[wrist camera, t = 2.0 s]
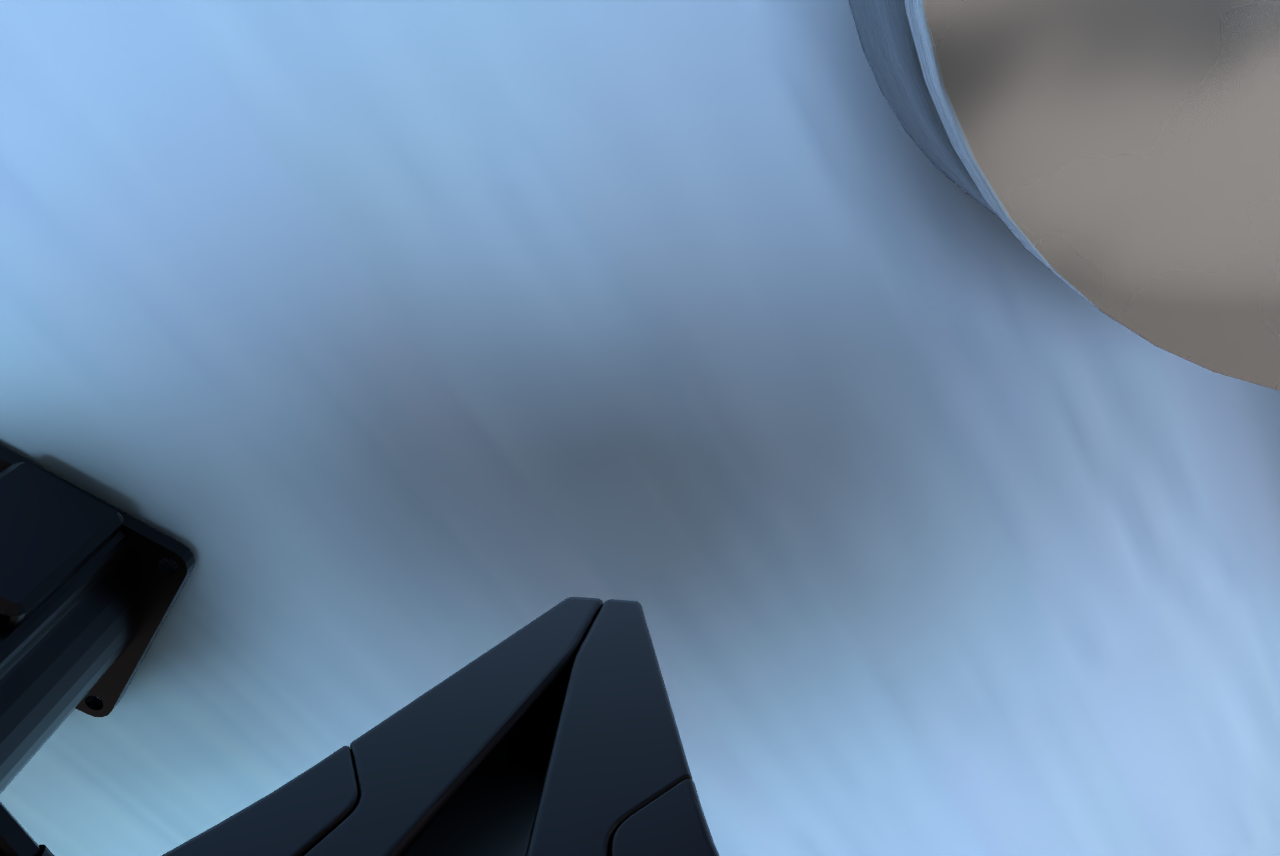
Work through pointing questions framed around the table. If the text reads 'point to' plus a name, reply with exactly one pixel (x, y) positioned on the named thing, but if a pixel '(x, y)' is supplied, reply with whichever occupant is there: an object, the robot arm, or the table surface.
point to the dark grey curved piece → (907, 84)
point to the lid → (1128, 155)
